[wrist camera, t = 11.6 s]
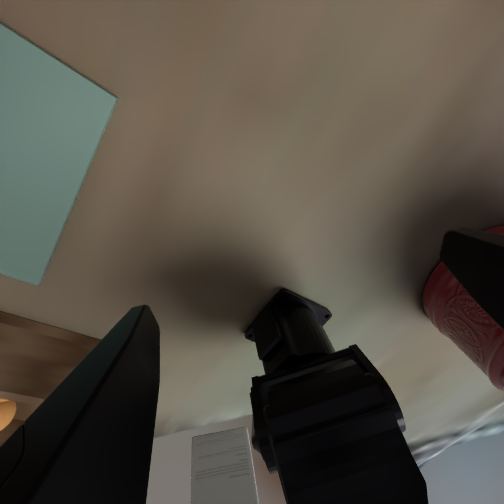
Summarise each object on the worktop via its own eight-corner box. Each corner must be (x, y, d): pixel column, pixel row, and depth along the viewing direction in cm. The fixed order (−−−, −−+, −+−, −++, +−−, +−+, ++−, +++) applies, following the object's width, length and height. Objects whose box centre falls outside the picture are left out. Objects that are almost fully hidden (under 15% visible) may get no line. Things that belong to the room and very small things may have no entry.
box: (143, 352, 26) (130, 415, 21) (93, 425, 31) (72, 492, 26) (-20, 305, 21) (-90, 374, 16) (-53, 402, 26) (-115, 479, 21)
